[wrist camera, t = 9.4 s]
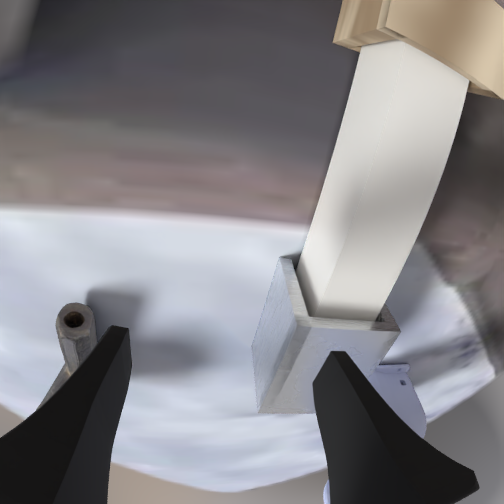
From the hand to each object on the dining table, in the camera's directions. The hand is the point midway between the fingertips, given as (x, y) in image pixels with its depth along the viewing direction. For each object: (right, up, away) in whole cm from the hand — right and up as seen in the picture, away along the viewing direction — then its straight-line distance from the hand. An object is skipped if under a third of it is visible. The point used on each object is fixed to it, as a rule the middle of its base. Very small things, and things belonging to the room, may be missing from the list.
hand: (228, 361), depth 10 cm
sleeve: (+5, 0, +13) cm, 14 cm away
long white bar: (+7, +9, +7) cm, 14 cm away
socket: (+9, +17, +3) cm, 20 cm away
